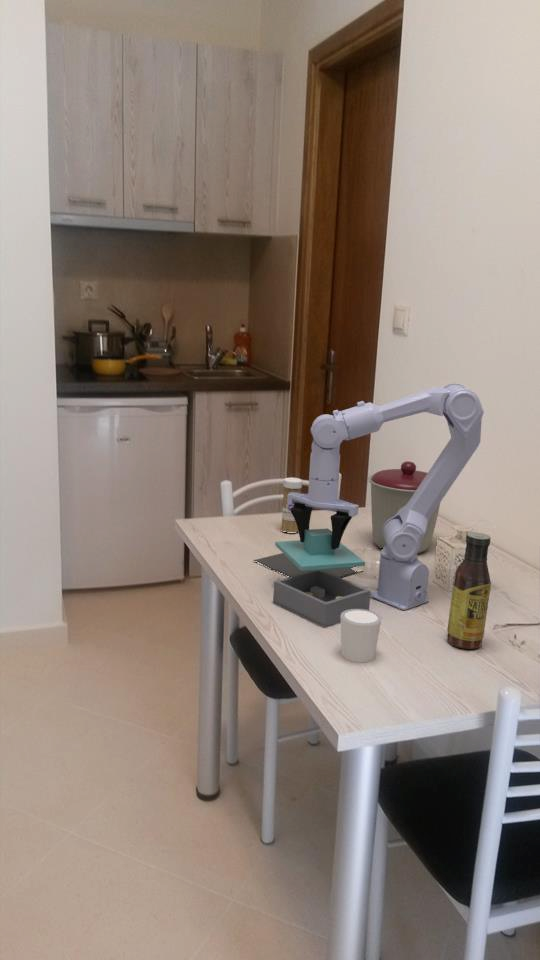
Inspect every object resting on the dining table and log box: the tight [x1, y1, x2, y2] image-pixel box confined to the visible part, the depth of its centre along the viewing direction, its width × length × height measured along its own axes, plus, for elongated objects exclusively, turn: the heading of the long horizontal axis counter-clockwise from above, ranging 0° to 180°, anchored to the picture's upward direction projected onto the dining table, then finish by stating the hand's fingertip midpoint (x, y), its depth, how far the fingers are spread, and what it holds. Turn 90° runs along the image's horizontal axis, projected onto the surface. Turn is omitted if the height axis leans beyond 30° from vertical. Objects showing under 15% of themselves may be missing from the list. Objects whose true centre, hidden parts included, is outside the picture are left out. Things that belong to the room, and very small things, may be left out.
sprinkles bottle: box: [280, 477, 303, 532], centre depth 199 cm, size 5×5×14 cm
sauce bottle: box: [446, 531, 492, 650], centre depth 139 cm, size 6×6×20 cm
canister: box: [367, 460, 441, 554], centre depth 190 cm, size 18×18×21 cm
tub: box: [272, 570, 372, 629], centre depth 154 cm, size 14×12×4 cm
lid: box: [274, 527, 366, 571], centre depth 158 cm, size 15×13×6 cm
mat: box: [253, 552, 357, 579], centre depth 176 cm, size 18×16×1 cm
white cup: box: [340, 609, 383, 664], centre depth 134 cm, size 7×7×7 cm
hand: (319, 544), depth 158 cm, fingers closed on lid, 6 cm apart
